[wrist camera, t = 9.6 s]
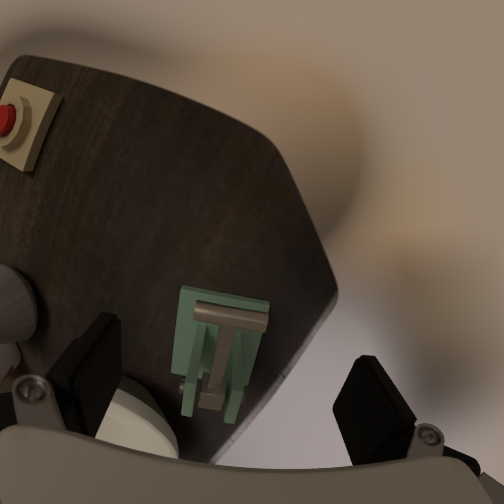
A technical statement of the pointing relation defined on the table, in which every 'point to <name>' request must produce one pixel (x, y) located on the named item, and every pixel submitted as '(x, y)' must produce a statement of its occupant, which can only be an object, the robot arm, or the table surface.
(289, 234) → the table surface
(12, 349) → the milk bottle
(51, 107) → the block
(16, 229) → the table surface
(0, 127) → the button
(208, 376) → the lever handle
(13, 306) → the coffee pot
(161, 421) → the bowl
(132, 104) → the table surface
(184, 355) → the green lever stand
